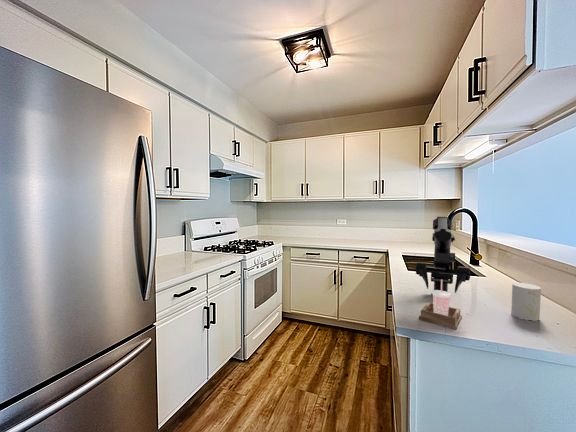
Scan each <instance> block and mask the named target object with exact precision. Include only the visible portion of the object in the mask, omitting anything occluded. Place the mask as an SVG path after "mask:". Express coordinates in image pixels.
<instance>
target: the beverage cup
mask: <svg viewBox="0 0 576 432" xmlns="http://www.w3.org/2000/svg"><path fill="white" fill-rule="evenodd" d="M432 294H433V295H432ZM431 295H432V303H433V309H434V313H438V314H442V315H446V316H448V311H449V307H450V300H451V295H452V294H451V292H449V291H448V292H446V291H442V279H441V290H434V289H433V290H432V292H431Z"/></svg>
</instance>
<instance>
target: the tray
mask: <svg viewBox="0 0 576 432" xmlns="http://www.w3.org/2000/svg"><path fill="white" fill-rule="evenodd" d="M462 319H463V315H462V314H461V308H457V307H453V306H449V311H448V316H446V315H442V314H438V313H434V309H433V302H430V301H428V302H427V303H425V305H424V306H423V307H422V308H421V310H420V315H419V316H418V320H419V321H423V322H426V323H430V324H433V325H437V326H441V327H444V328H445V327H446V328H448V329H449V328H450V329H452V330H457V329H458V327H459V325H460V323H461V322H462Z"/></svg>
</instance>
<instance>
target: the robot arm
mask: <svg viewBox="0 0 576 432" xmlns="http://www.w3.org/2000/svg"><path fill="white" fill-rule="evenodd" d="M452 227H453V221H452V220H451V219H449V217H448V216H440V215H439V216H436V218H435V219H433V220H432V230H434V231H433V233H432V236H431V237H432V238H431V240H432V242H434V243H433V244H434V253H433V254H434V255H433V257H434V258H433V264H432V266H427V262H420V261H418V262H416V263H415V274H416V275H419V277H421V278H422V280H423V282H424V283H425V284H424V285H425V286H426V289H429V277H428V273H429V272H430V282H433V290H441V279H442V291H446V292H449V291H448V289H449V285H452V284H453V283H454V276H456V280H455V286H454V293H455V294H457V291H458V290H459V287H460V286H461V285H462V284H463V283H466V281H470V280H471V274H472V273H471V268H470V267H468V266H460V265H459V266H457V269H453V268H451V266H452V265H451V263H455V262H456V253H455V252H451V245H452V244H451V243H454V241H455V240H456V238H455V236H454V234H453V233H452V229H453V228H452ZM431 295H432V296H433V294H432V293H431Z"/></svg>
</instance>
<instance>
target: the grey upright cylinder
mask: <svg viewBox="0 0 576 432" xmlns="http://www.w3.org/2000/svg"><path fill="white" fill-rule="evenodd" d="M511 288H512V289H511V310H510V313H511V316H513V317H515V316H516V317H515V318H517V317H518V318H517V319H520V318H521V319H520V320H523V319H525V320H524V321H528V320H532V321H531V322H538V321H537V320H539V319H541V300H542V299H541V298H542V288H541V287H540V286H539V285H535V284H531V283H527V282H512V287H511ZM539 321H540V320H539Z"/></svg>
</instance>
